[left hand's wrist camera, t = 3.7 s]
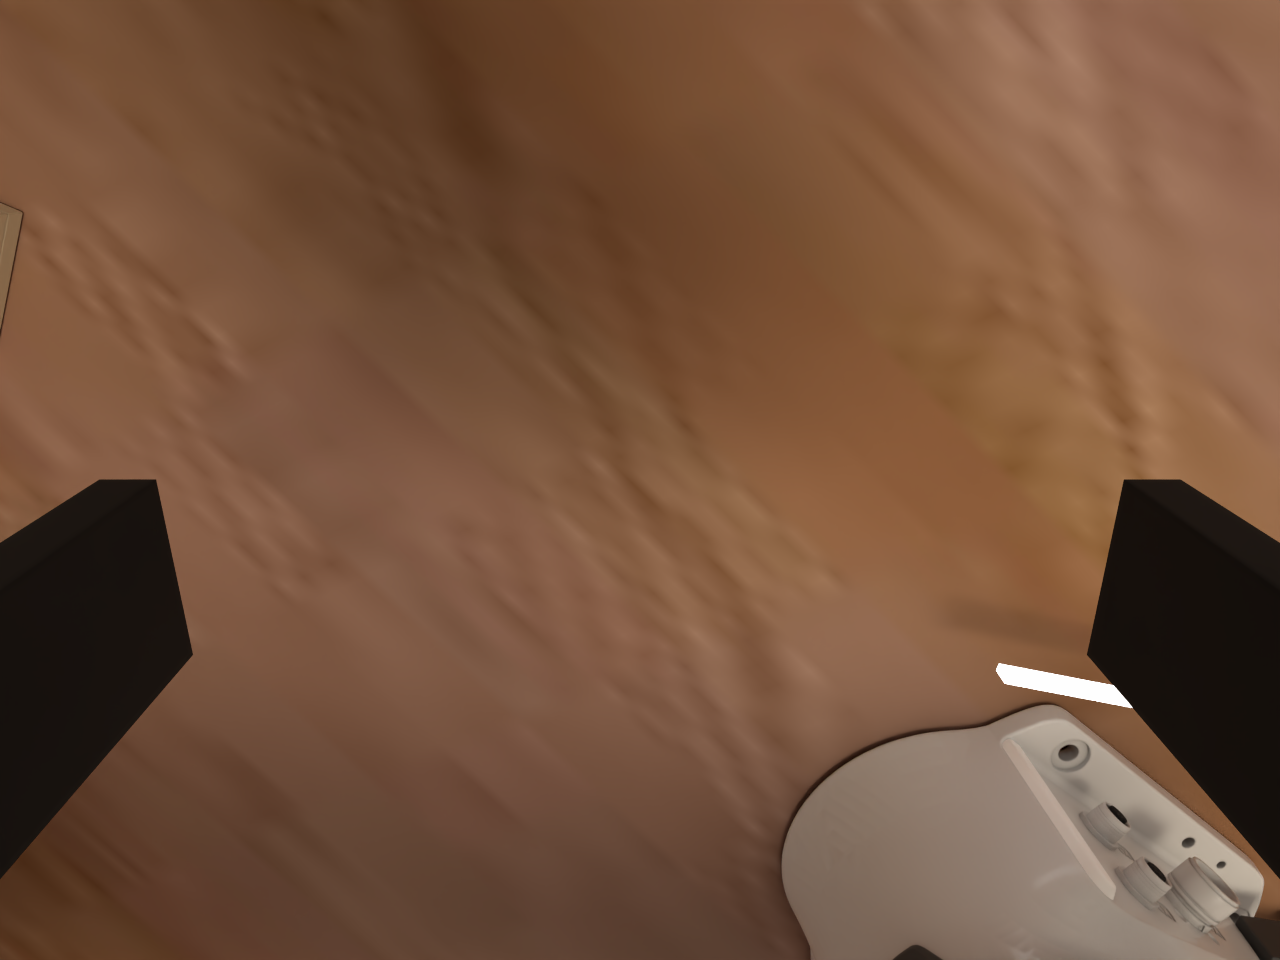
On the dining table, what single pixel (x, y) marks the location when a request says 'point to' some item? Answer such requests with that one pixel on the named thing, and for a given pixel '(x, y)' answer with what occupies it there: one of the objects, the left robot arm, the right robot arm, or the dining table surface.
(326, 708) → the dining table surface
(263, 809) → the dining table surface
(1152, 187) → the dining table surface
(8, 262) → the beige rectangular block
